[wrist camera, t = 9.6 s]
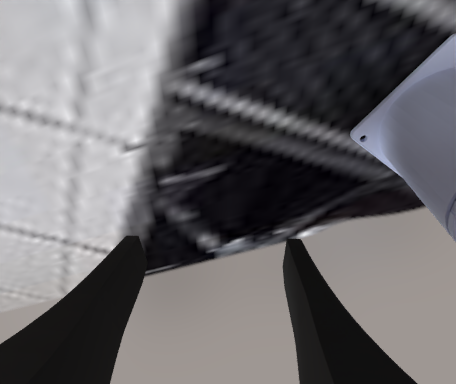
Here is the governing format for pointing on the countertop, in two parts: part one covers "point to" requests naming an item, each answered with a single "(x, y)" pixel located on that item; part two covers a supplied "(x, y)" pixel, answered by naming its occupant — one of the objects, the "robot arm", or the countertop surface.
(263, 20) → the countertop surface
